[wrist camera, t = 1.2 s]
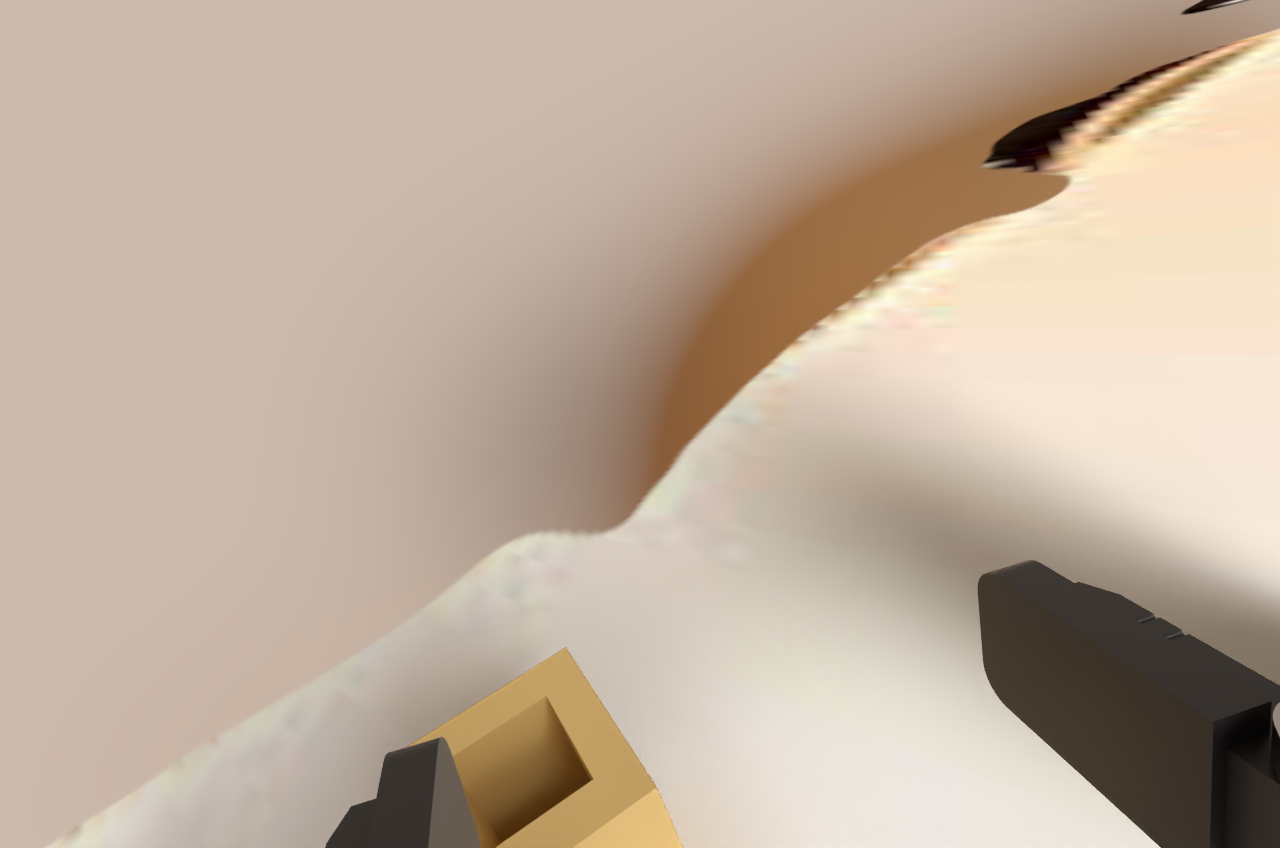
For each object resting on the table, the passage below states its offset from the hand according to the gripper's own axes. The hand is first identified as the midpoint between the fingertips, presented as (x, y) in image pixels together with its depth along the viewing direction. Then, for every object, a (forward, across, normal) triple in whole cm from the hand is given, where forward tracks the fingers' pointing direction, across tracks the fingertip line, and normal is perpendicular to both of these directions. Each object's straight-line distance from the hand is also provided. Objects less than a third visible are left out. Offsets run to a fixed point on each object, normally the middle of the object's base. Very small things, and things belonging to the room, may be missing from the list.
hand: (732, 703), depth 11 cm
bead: (+12, +4, +17) cm, 21 cm away
